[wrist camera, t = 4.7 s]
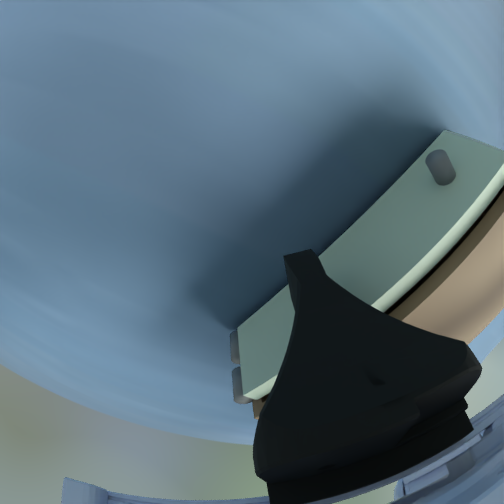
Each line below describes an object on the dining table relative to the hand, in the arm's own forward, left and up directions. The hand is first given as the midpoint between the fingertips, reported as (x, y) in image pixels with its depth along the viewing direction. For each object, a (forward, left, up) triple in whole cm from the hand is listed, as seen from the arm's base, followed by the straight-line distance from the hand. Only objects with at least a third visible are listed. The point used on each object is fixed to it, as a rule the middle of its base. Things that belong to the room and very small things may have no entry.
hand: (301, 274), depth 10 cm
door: (-1, -2, -2) cm, 3 cm away
